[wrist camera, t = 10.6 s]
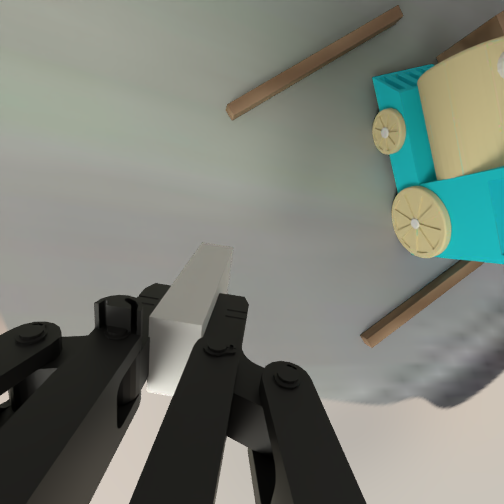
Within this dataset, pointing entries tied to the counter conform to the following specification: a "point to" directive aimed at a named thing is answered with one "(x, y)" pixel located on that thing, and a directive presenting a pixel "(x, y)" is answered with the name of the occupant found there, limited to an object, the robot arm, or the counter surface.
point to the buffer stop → (477, 36)
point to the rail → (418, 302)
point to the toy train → (447, 153)
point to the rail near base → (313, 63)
